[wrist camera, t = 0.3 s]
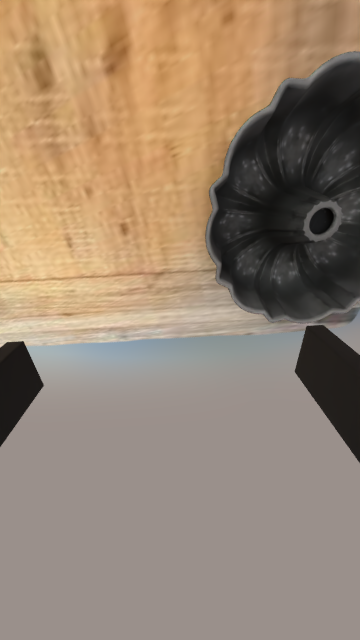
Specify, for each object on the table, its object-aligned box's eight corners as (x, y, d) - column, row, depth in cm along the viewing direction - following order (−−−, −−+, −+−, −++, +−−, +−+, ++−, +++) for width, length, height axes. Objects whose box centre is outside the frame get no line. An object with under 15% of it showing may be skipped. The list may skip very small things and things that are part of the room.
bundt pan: (276, 324, 42) (303, 356, 33) (163, 236, 34) (159, 247, 25) (413, 197, 32) (502, 195, 23) (298, 35, 25) (367, -59, 16)
